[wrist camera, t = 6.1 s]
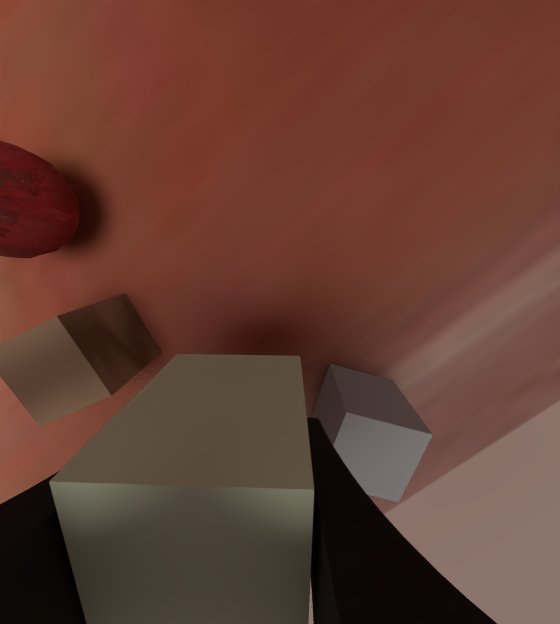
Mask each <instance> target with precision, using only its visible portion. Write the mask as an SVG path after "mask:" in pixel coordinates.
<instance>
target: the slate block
mask: <svg viewBox="0 0 560 624" xmlns="http://www.w3.org/2000/svg"><path fill="white" fill-rule="evenodd" d="M311 418H318V419H319V420H320V422H321V424H322V426H323V428H324V430H325V432H326V434H327V436H328V437H329V439H330V441H331V443H332V444H333V446H334V448H335V449H336V451H337V453H338V454H339V456H340V457H341V459H342V460H343V462H344V463H345V465H346V466H347V468H348V469H349V471H350V472H351V474H352V475H353V476H354V478H355V479H356V480H357V482H358V483H359V484H360V486H361V487H362V488H363V490H364V491H365V492H366V494H367V495H371V496H375V497H379V498H383V499H387V500H391V501H395V502H399V500H400V498H401V497H402V495H403V493H404V491H405V489H406V487H407V485H408V483H409V481H410V479H411V477H412V475H413V473H414V471H415V469H416V467H417V465H418V463H419V461H420V459H421V457H422V455H423V453H424V451H425V449H426V447H427V445H428V443H429V441H430V439H431V438H432V436H433V434H432V433H431V432H430V430H429V429H428V427H427V426H426V425H425V423H424V422H423V421H422V419H421V418H420V417H419V415H418V414H417V413H416V411H415V410H414V409H413V407H412V406H411V405H410V403H409V402H408V401H407V399H406V398H405V396H404V395H403V394H402V392H401V391H400V390H399V388H398V387H397V386H396V384H395V383H394V382H393V380H390V379H386V378H382V377H379V376H375V375H371V374H367V373H364V372H360V371H356V370H352V369H349V368H345V367H341V366H337V365H334V364H330V365H329V368H328V371H327V374H326V376H325V379H324V382H323V385H322V388H321V390H320V393H319V396H318V399H317V402H316V405H315V407H314V410H313V413H312V416H311Z"/></svg>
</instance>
